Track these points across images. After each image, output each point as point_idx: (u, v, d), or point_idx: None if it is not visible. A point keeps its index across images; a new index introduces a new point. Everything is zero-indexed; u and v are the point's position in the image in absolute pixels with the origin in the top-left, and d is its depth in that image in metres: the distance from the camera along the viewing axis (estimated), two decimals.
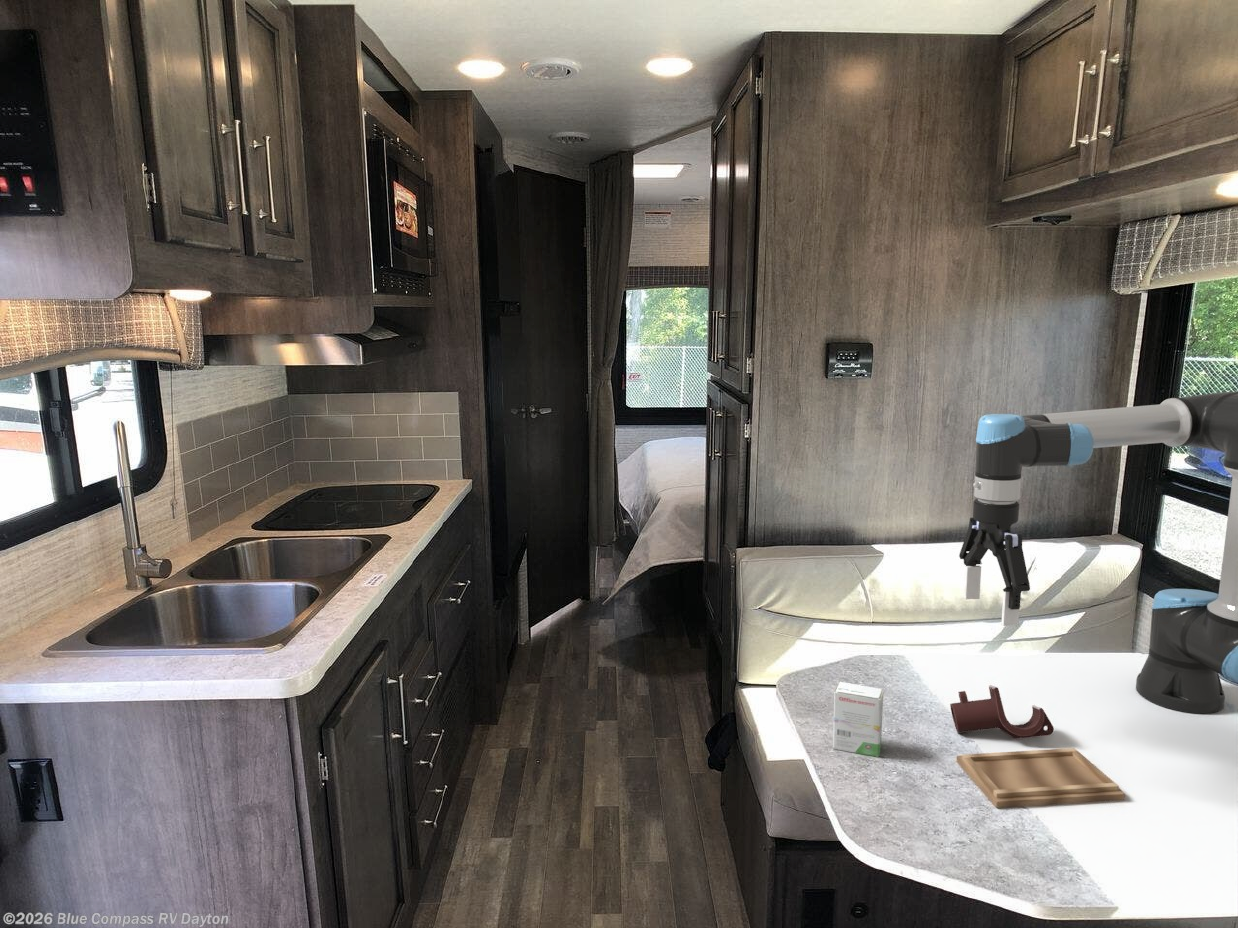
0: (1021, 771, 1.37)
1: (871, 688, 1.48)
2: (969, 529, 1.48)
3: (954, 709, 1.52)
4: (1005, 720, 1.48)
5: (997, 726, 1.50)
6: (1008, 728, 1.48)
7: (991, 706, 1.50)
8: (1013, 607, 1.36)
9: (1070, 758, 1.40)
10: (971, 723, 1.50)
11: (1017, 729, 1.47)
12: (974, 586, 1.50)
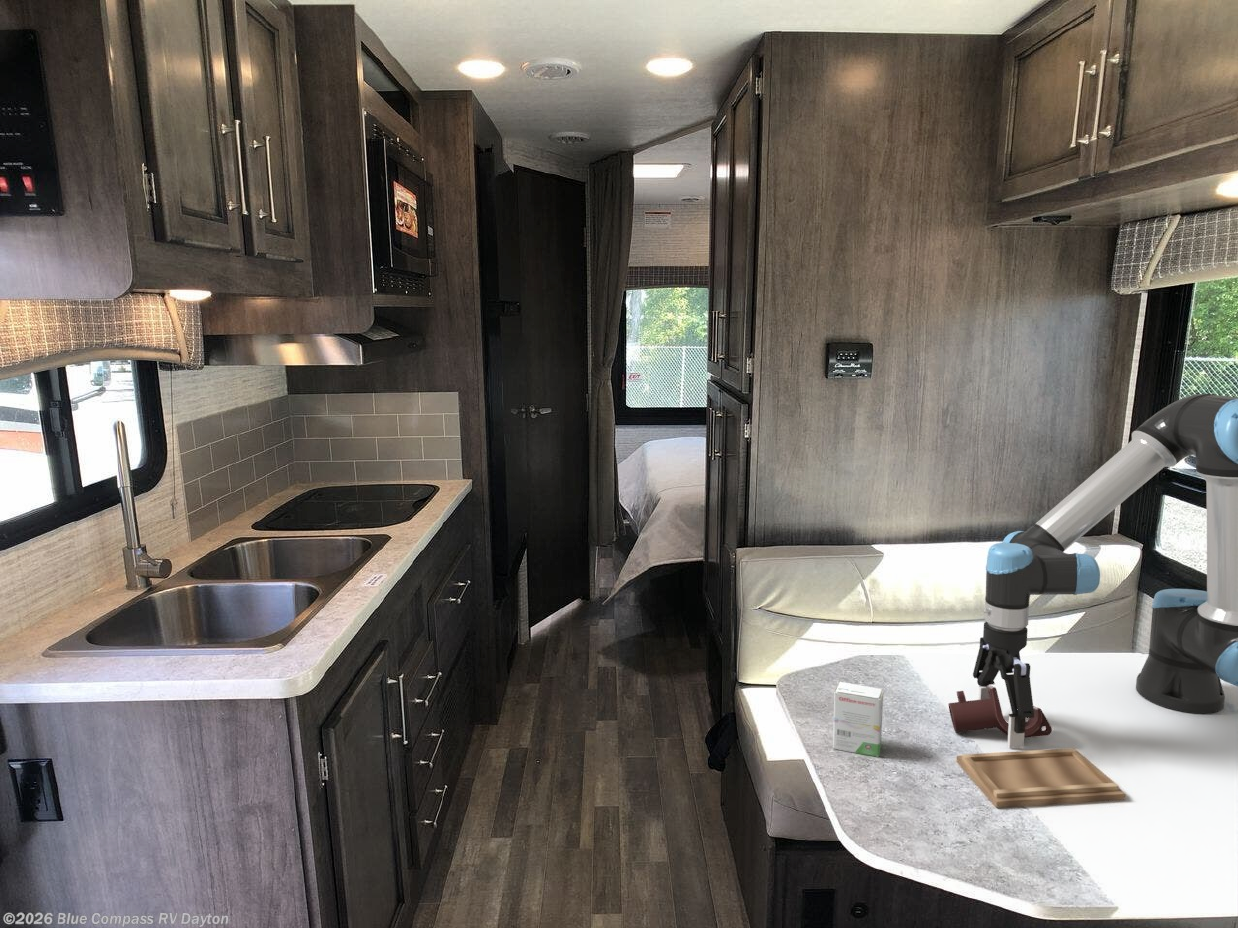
0: (1021, 771, 1.37)
1: (871, 688, 1.48)
2: (981, 649, 1.56)
3: (952, 709, 1.52)
4: (1003, 720, 1.48)
5: (995, 726, 1.50)
6: (1006, 728, 1.48)
7: (989, 706, 1.50)
8: (1018, 731, 1.44)
9: (1070, 758, 1.40)
10: (969, 723, 1.50)
11: None
12: None
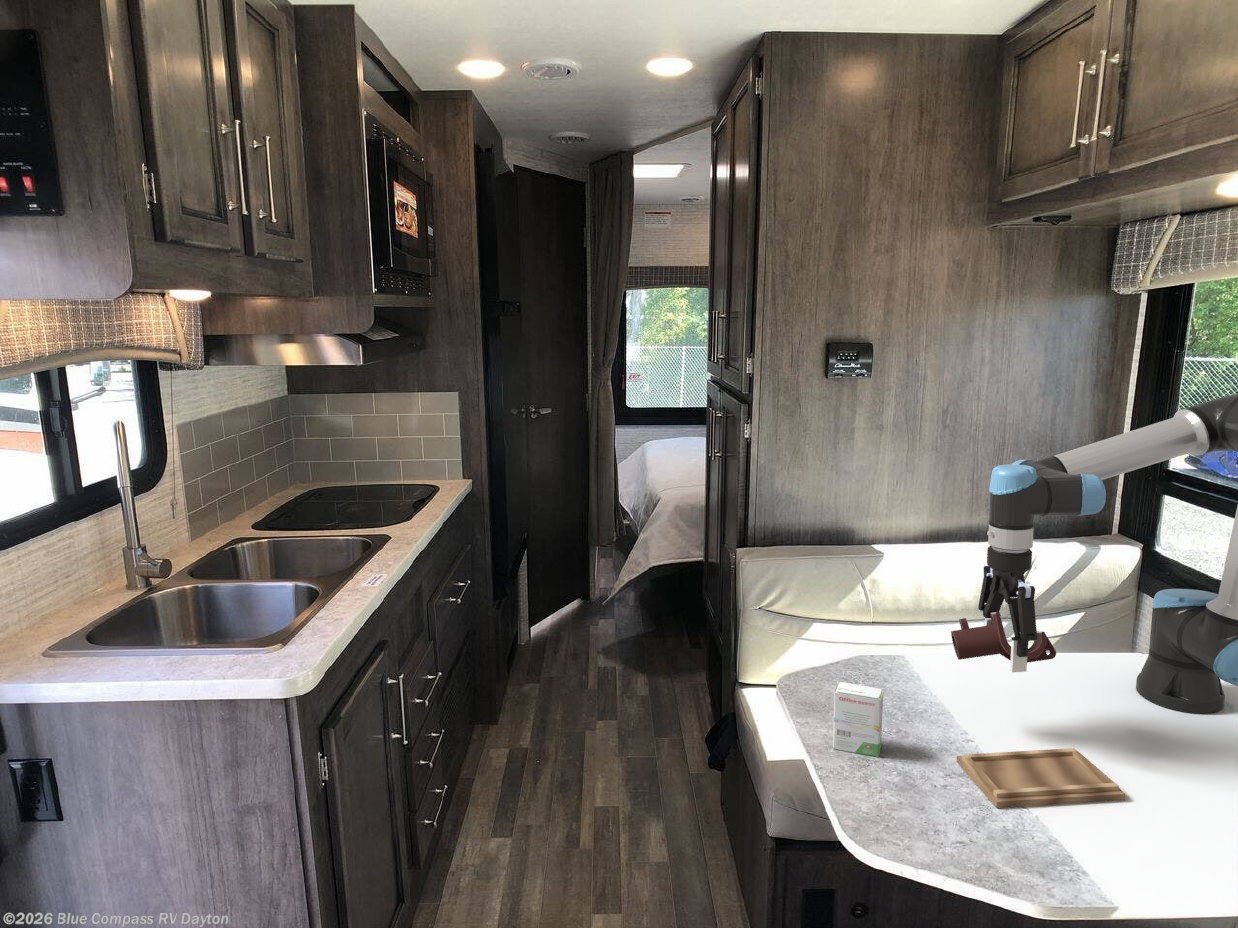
0: (1021, 771, 1.37)
1: (871, 688, 1.48)
2: (985, 578, 1.53)
3: (955, 636, 1.50)
4: (1007, 644, 1.46)
5: (999, 651, 1.48)
6: (1010, 652, 1.46)
7: (992, 631, 1.48)
8: (1021, 655, 1.43)
9: (1070, 758, 1.40)
10: (973, 649, 1.48)
11: None
12: None
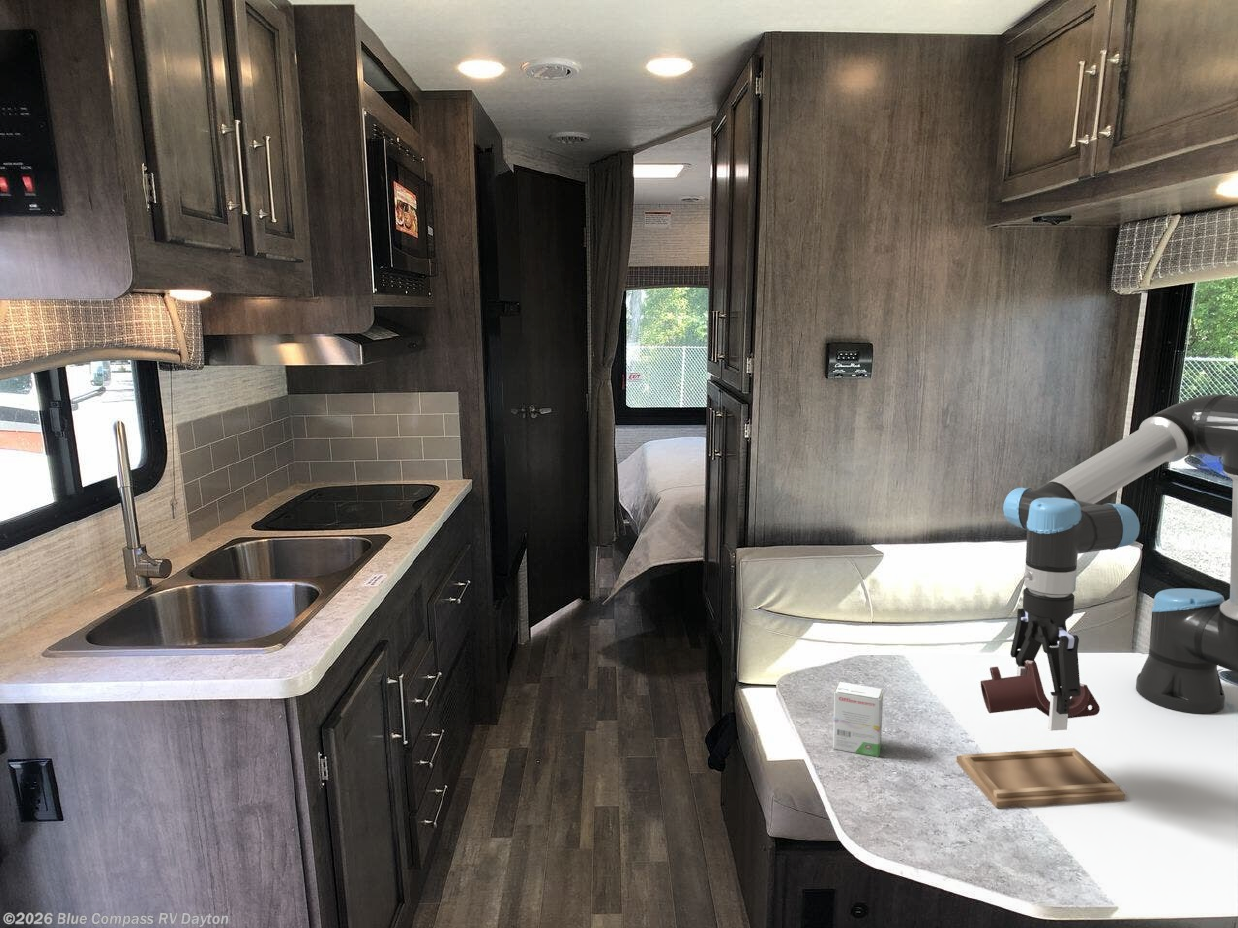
0: (1021, 771, 1.37)
1: (871, 688, 1.48)
2: (1019, 622, 1.38)
3: (986, 687, 1.34)
4: (1044, 698, 1.31)
5: (1035, 705, 1.32)
6: (1048, 707, 1.30)
7: (1028, 683, 1.33)
8: (1062, 712, 1.27)
9: (1070, 758, 1.40)
10: (1006, 703, 1.33)
11: None
12: None
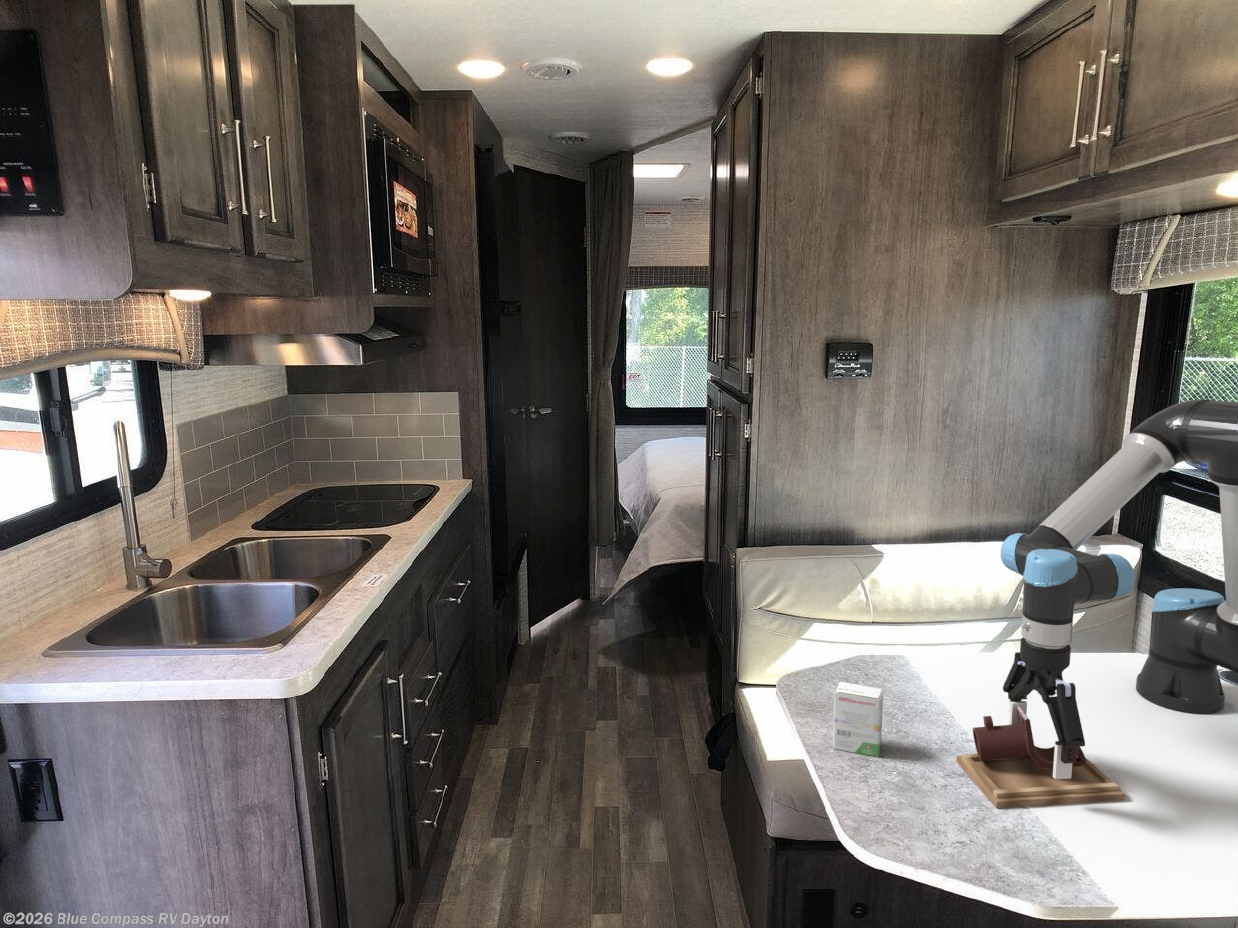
0: (1021, 771, 1.37)
1: (871, 688, 1.48)
2: (1015, 665, 1.39)
3: (978, 738, 1.38)
4: (1034, 753, 1.35)
5: (1024, 756, 1.37)
6: (1037, 761, 1.35)
7: (1020, 737, 1.36)
8: (1066, 761, 1.27)
9: None
10: (997, 754, 1.37)
11: (1047, 763, 1.34)
12: None
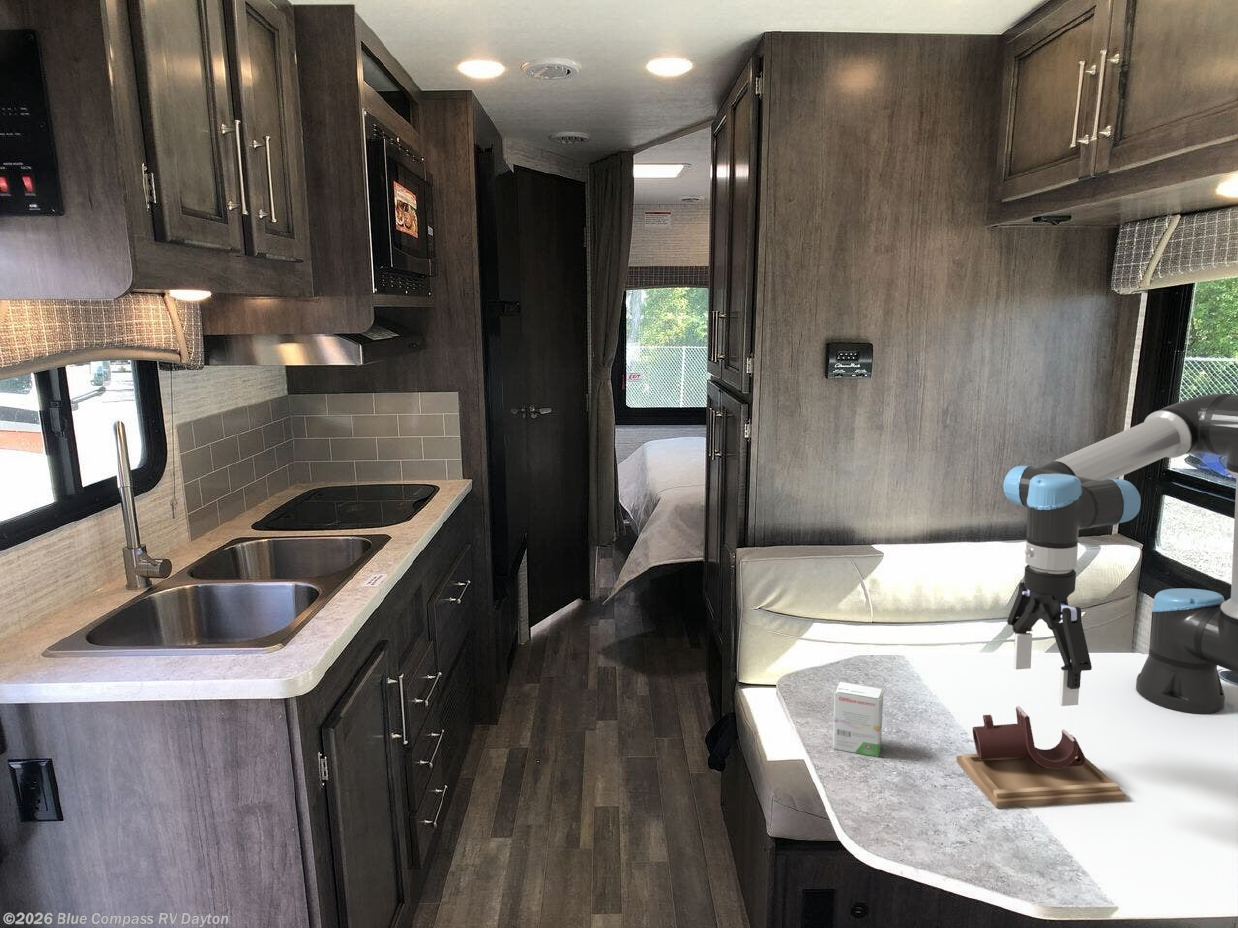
0: (1021, 771, 1.37)
1: (871, 688, 1.48)
2: (1019, 595, 1.37)
3: (978, 736, 1.38)
4: (1034, 751, 1.35)
5: (1024, 755, 1.37)
6: (1037, 760, 1.35)
7: (1019, 735, 1.36)
8: (1073, 687, 1.25)
9: None
10: (997, 752, 1.37)
11: (1046, 761, 1.35)
12: (1025, 655, 1.39)
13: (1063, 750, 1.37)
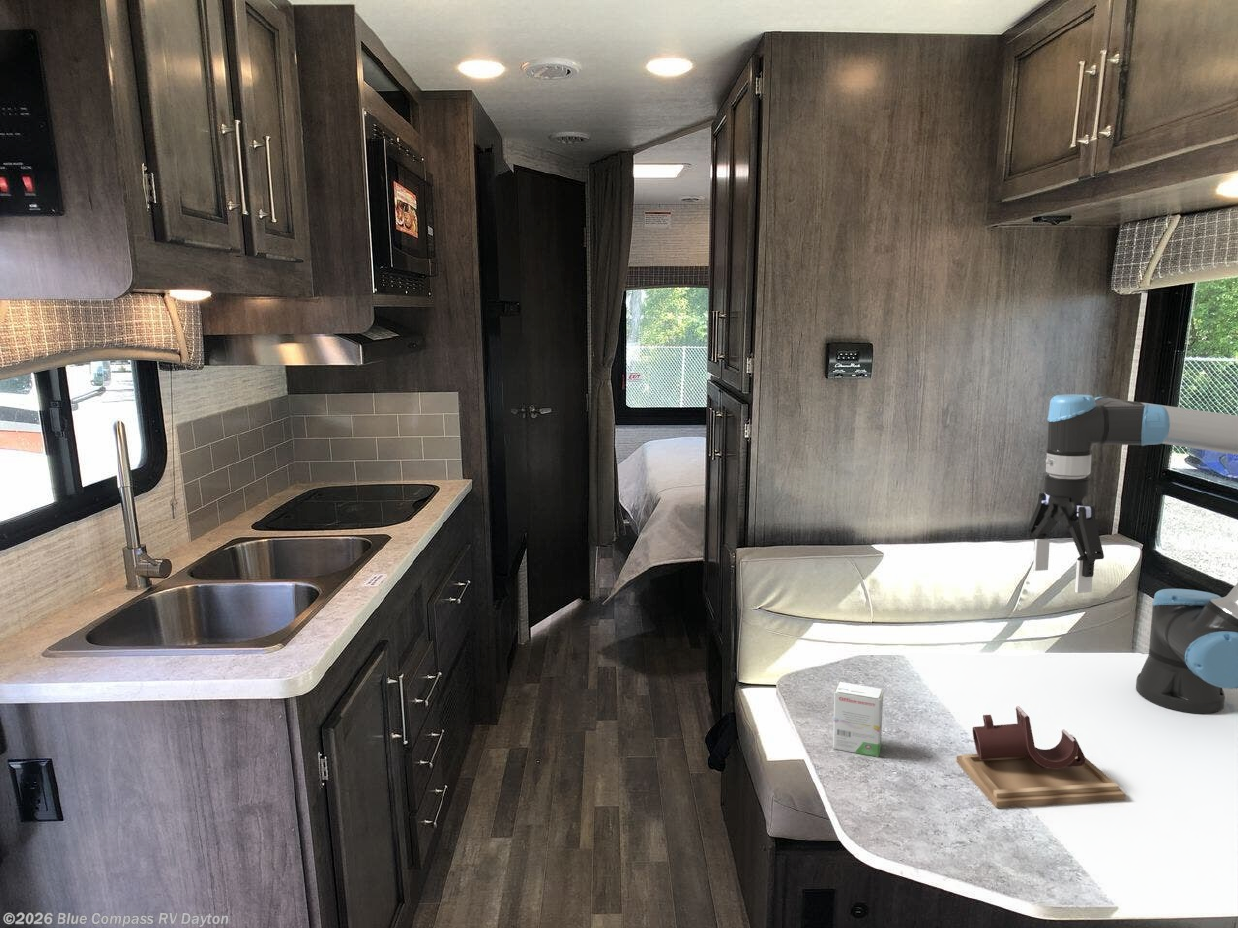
0: (1021, 771, 1.37)
1: (871, 688, 1.48)
2: (1039, 504, 1.57)
3: (978, 736, 1.38)
4: (1034, 751, 1.35)
5: (1024, 755, 1.37)
6: (1037, 760, 1.35)
7: (1019, 735, 1.36)
8: (1087, 575, 1.44)
9: None
10: (997, 752, 1.37)
11: (1046, 761, 1.35)
12: (1043, 558, 1.59)
13: (1063, 750, 1.37)
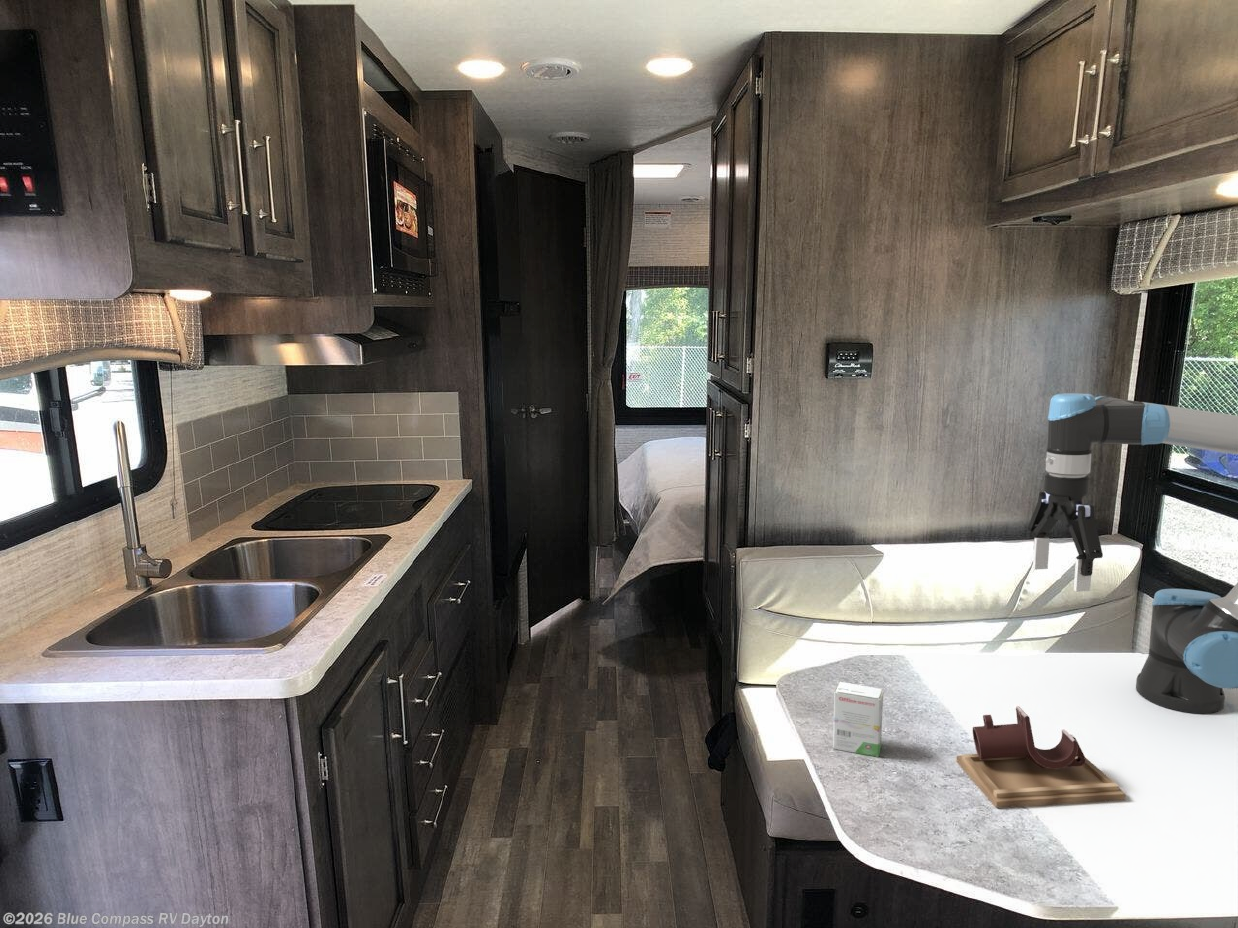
0: (1021, 771, 1.37)
1: (871, 688, 1.48)
2: (1039, 503, 1.58)
3: (978, 736, 1.38)
4: (1034, 751, 1.35)
5: (1024, 755, 1.37)
6: (1037, 760, 1.35)
7: (1019, 735, 1.36)
8: (1086, 573, 1.45)
9: None
10: (997, 752, 1.37)
11: (1046, 761, 1.35)
12: (1043, 557, 1.59)
13: (1063, 750, 1.37)
